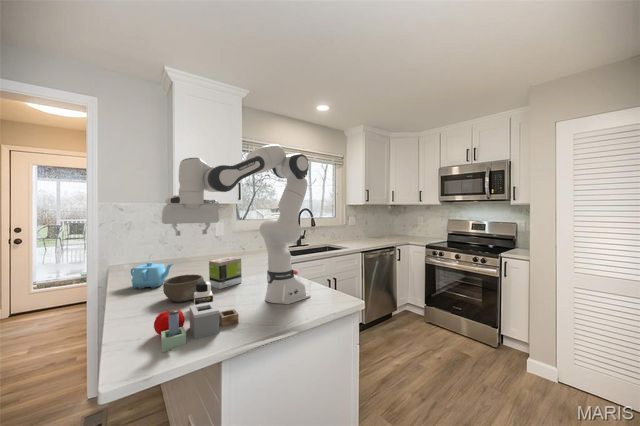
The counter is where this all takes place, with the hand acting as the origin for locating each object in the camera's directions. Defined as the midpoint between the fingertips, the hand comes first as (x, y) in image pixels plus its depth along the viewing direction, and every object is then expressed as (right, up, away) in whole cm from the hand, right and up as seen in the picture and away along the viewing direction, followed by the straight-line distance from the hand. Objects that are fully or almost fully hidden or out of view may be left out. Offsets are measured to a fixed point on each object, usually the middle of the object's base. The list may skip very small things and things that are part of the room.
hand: (191, 234), depth 105 cm
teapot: (-44, -33, +46) cm, 72 cm away
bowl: (-16, -34, +26) cm, 46 cm away
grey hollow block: (+9, -34, -9) cm, 37 cm away
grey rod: (+2, -34, -17) cm, 38 cm away
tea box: (-4, -33, +50) cm, 60 cm away
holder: (+15, -34, -2) cm, 37 cm away
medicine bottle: (-1, -34, +13) cm, 36 cm away
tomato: (-3, -35, -9) cm, 36 cm away
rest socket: (+2, -35, -17) cm, 39 cm away
